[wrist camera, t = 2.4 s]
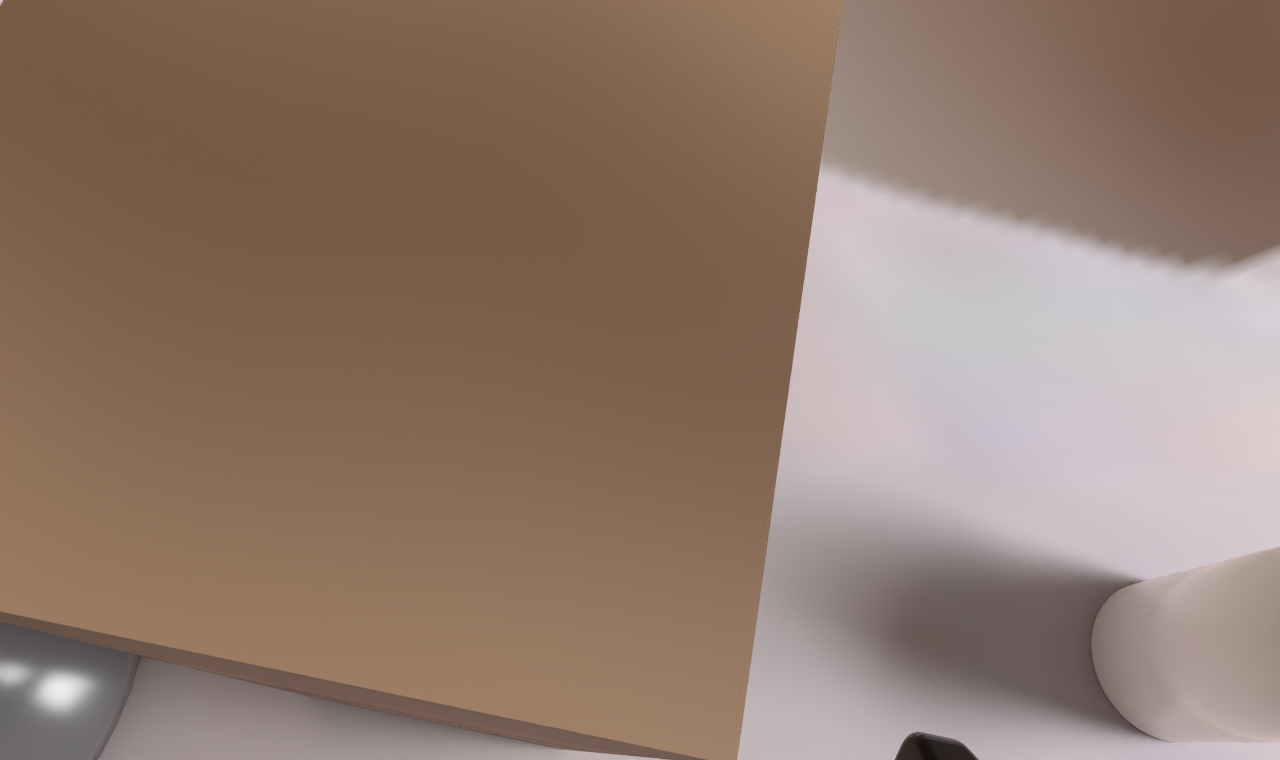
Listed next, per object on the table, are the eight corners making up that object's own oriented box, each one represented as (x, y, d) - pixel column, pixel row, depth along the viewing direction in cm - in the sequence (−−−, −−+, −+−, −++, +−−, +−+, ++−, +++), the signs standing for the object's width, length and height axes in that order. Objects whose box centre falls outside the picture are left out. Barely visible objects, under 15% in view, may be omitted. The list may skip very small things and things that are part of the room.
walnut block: (565, 749, 16) (736, 765, 4) (307, 696, 16) (-325, 545, 4) (617, 501, 18) (842, -5, 6) (385, 449, 18) (117, -190, 6)
